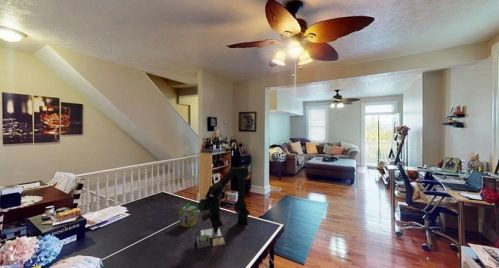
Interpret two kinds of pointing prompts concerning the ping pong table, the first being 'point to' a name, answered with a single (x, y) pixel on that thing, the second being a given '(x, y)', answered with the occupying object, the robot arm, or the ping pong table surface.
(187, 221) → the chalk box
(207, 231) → the sheet
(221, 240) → the cork pad
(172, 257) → the ping pong table surface
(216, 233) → the chalk stick
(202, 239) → the button
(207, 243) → the button housing
